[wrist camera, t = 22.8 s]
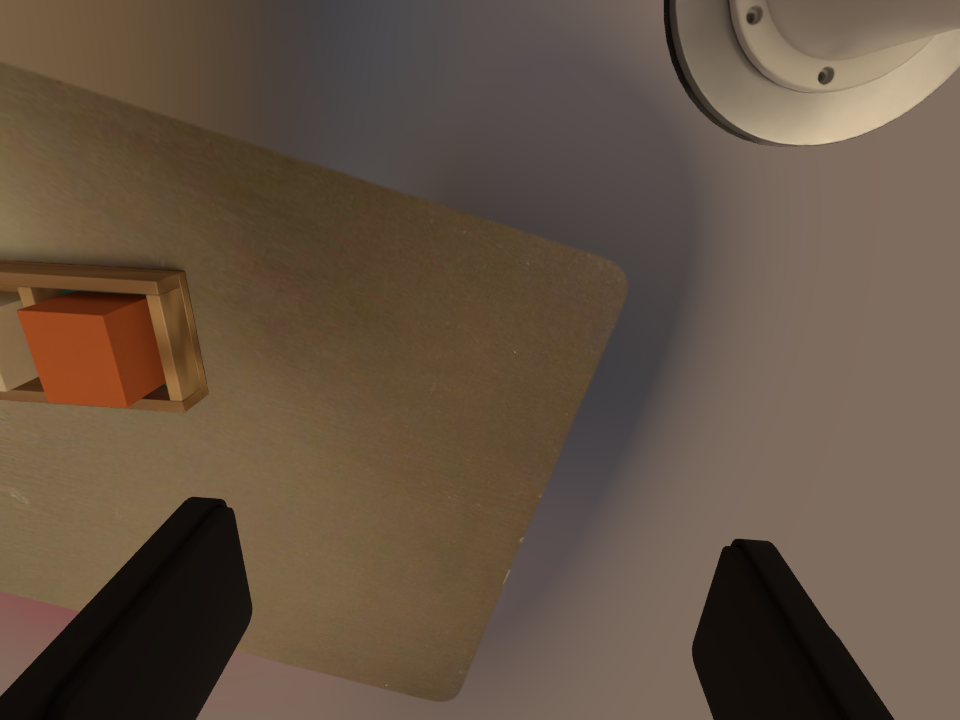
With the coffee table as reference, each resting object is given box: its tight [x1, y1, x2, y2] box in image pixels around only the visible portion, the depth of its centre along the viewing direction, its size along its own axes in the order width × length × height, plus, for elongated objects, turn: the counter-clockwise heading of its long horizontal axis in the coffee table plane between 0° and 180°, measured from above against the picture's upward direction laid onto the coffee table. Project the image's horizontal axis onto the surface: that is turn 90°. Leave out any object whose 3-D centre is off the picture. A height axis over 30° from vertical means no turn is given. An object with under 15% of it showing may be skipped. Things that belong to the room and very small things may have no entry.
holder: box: [0, 260, 208, 413], centre depth 38 cm, size 10×20×3 cm, turn 87°
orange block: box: [17, 291, 166, 408], centre depth 36 cm, size 7×6×5 cm
